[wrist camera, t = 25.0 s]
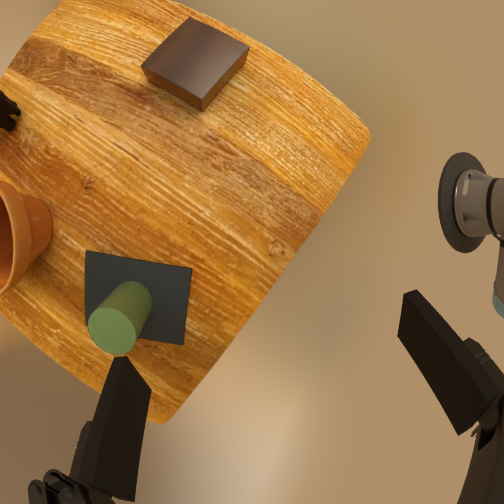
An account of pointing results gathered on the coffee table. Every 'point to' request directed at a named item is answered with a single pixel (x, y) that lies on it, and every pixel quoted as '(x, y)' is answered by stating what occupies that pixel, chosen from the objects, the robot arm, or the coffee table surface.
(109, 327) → the green canister
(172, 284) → the slate mat
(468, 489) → the robot arm
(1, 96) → the figurine
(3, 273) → the flower pot
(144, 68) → the dark brown square block
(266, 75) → the coffee table surface
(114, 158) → the coffee table surface
